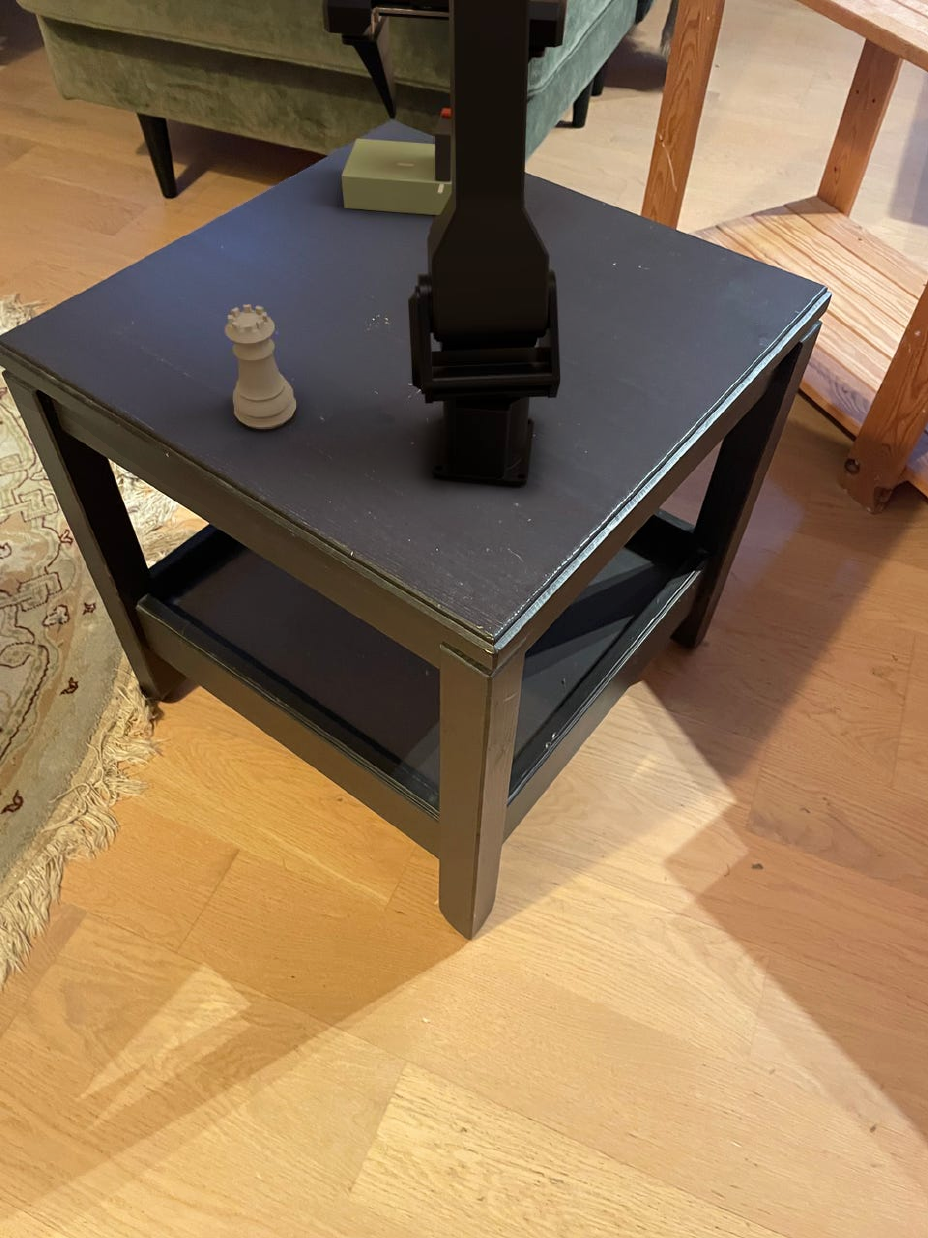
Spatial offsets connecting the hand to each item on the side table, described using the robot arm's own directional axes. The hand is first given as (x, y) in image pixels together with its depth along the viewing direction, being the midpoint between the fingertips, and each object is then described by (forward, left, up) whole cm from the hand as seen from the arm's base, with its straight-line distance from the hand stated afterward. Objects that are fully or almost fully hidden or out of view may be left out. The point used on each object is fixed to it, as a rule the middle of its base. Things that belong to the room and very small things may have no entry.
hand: (446, 120), depth 79 cm
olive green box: (0, +2, -7) cm, 8 cm away
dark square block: (0, 0, -4) cm, 4 cm away
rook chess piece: (-31, +9, -7) cm, 33 cm away
